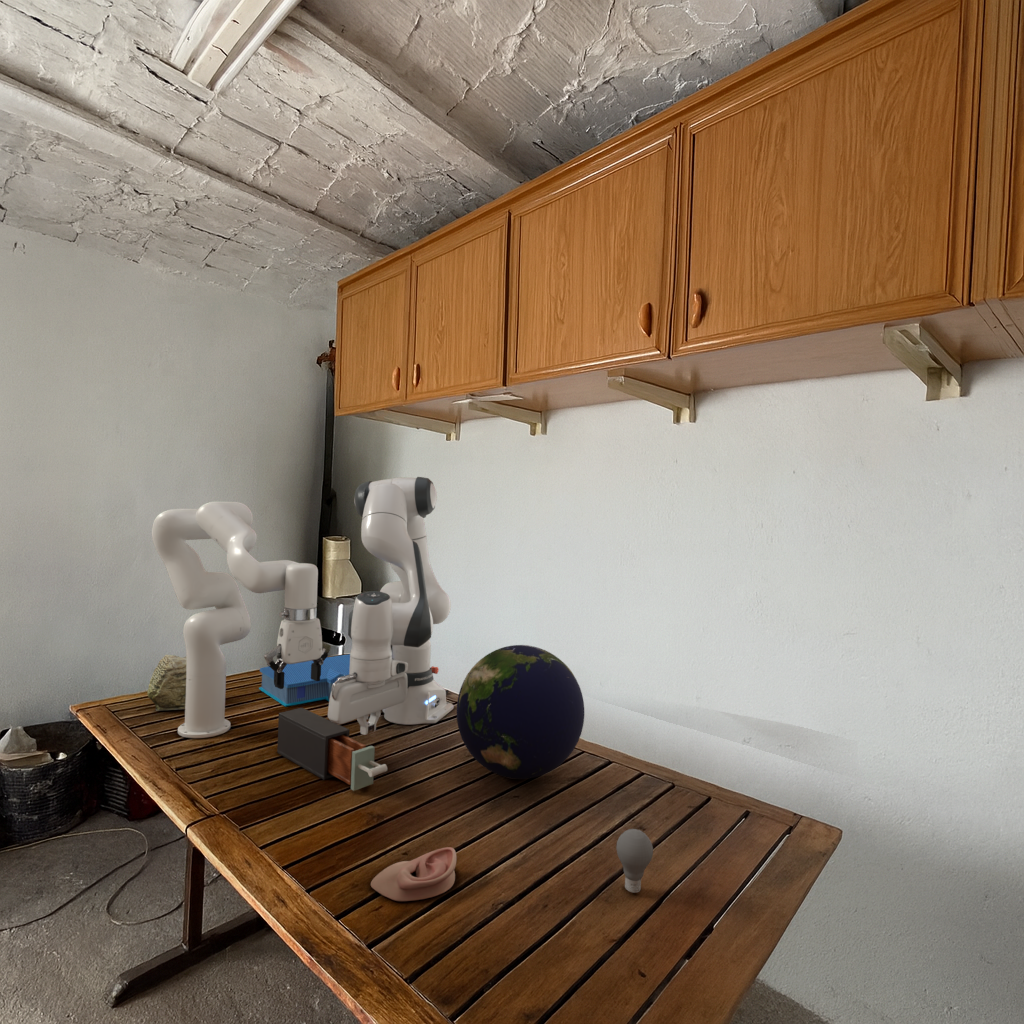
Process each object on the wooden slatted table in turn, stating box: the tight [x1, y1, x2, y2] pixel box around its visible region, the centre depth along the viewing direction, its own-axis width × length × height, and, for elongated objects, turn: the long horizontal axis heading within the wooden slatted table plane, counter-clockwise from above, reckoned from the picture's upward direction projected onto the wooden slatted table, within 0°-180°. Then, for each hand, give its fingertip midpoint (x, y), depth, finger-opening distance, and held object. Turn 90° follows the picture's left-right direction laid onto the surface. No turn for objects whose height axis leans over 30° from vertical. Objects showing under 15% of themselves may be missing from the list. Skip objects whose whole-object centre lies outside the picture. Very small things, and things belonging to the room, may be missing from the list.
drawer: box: [327, 735, 388, 792], centre depth 142 cm, size 25×5×8 cm, turn 49°
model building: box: [258, 653, 350, 707], centre depth 208 cm, size 39×24×10 cm, turn 132°
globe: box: [456, 644, 585, 780], centre depth 149 cm, size 30×30×30 cm
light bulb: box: [615, 828, 654, 894], centre depth 106 cm, size 6×6×10 cm
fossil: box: [147, 654, 187, 712], centre depth 185 cm, size 9×18×15 cm, turn 132°
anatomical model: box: [370, 846, 458, 902], centre depth 106 cm, size 13×4×12 cm
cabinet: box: [276, 707, 350, 781], centre depth 151 cm, size 21×6×10 cm, turn 49°
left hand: (297, 683), depth 155 cm, fingers open, 9 cm apart
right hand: (368, 732), depth 136 cm, fingers closed
